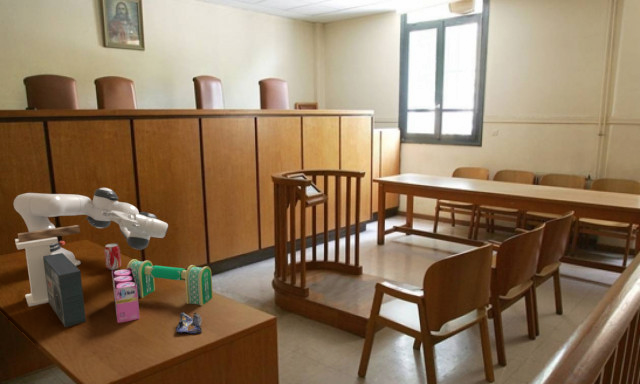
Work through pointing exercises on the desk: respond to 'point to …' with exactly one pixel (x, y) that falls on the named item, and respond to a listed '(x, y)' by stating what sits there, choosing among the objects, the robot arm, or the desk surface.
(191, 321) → the snack package
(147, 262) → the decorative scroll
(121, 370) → the desk surface
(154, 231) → the robot arm
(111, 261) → the soda can
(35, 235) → the brown block
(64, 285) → the cassette player
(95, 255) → the desk surface
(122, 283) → the gum box
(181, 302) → the desk surface
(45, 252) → the stand
